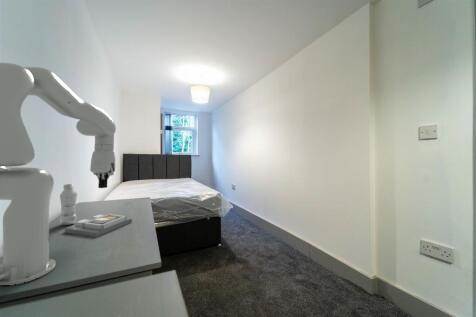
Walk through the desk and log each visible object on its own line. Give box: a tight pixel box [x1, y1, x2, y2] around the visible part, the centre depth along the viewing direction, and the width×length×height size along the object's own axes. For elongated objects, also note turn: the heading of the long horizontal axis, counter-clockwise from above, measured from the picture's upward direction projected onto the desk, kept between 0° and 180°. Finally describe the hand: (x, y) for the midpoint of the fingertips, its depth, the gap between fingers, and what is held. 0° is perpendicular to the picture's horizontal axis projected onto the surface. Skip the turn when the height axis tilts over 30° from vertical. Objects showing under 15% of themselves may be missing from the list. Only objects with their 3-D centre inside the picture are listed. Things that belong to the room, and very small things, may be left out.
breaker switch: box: [94, 216, 117, 223], centre depth 98 cm, size 8×5×1 cm, turn 166°
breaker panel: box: [64, 213, 133, 238], centre depth 99 cm, size 20×18×4 cm
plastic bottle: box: [59, 183, 78, 226], centre depth 101 cm, size 6×7×20 cm
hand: (102, 187), depth 95 cm, fingers closed
